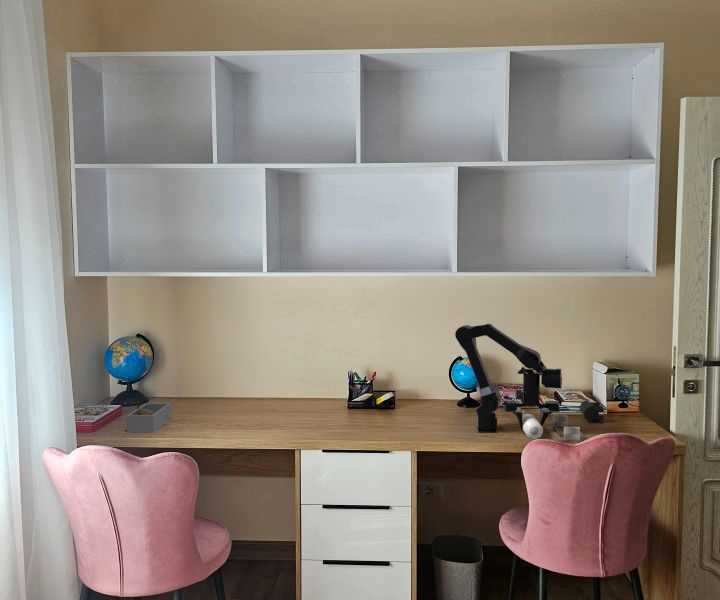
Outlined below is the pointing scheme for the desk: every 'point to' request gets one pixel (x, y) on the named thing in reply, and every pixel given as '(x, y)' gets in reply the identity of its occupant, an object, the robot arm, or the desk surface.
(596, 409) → the end cap
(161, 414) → the box
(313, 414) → the desk surface
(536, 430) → the paper roll
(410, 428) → the desk surface
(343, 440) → the desk surface
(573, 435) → the roll holder
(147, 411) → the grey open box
